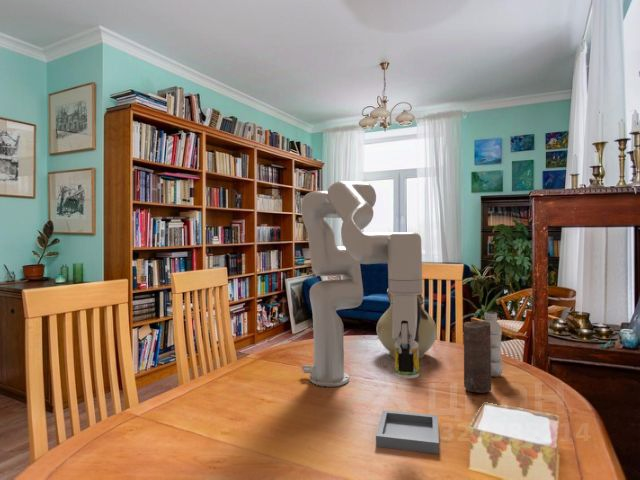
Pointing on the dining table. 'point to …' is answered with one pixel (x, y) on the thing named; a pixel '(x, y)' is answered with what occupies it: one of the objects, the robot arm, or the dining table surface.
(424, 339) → the pitcher
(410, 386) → the dining table surface
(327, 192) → the robot arm
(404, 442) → the tray
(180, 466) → the dining table surface
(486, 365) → the candle
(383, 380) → the dining table surface
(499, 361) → the plastic bottle
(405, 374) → the supplement bottle
